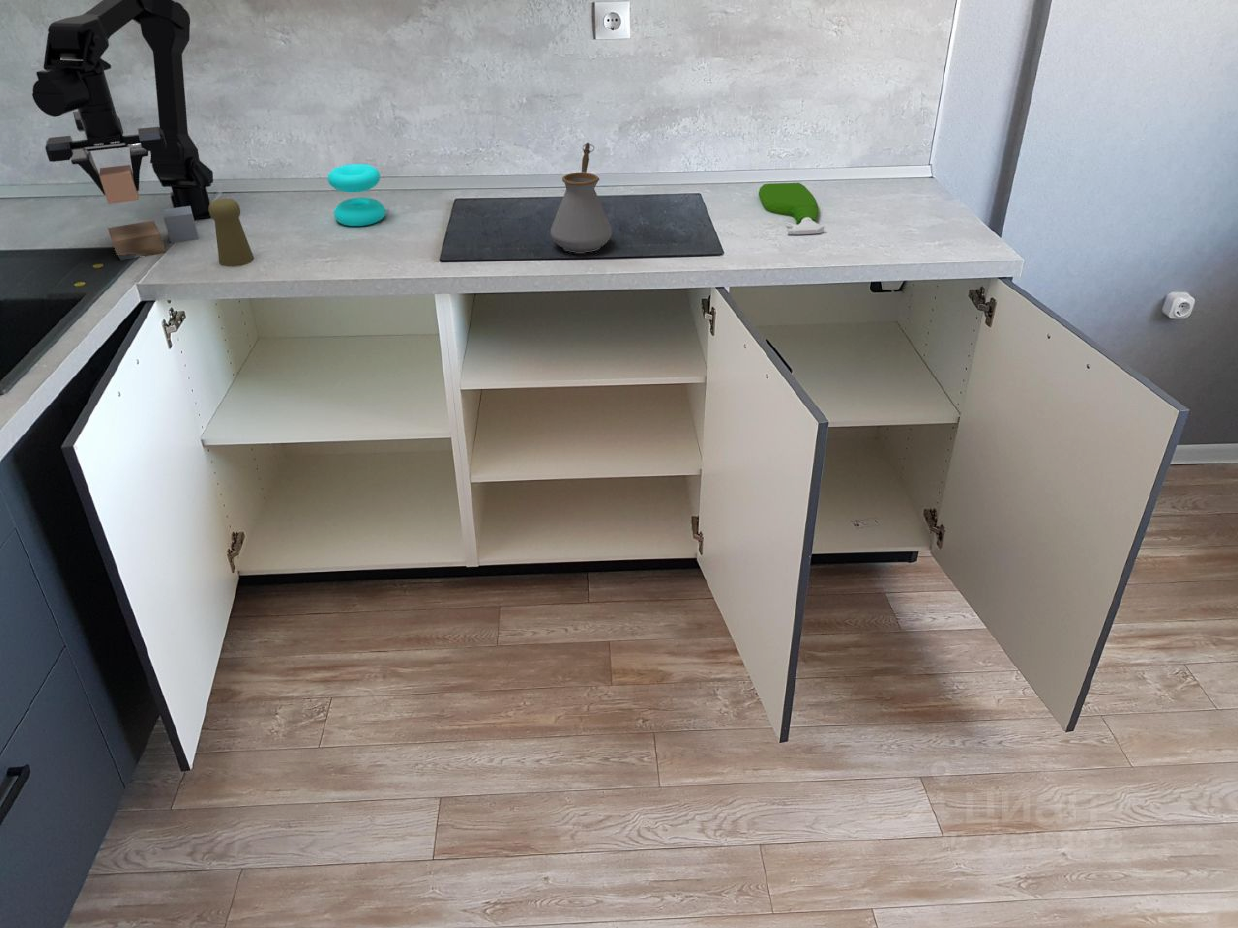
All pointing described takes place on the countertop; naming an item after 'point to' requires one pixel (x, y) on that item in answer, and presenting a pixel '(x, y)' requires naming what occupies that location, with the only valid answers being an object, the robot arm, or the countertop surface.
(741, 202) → the countertop surface
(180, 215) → the slate grey cube
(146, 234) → the walnut base block
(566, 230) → the coffee pot
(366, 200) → the donuts
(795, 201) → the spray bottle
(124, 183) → the terracotta cube
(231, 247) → the olive pawn
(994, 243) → the countertop surface
